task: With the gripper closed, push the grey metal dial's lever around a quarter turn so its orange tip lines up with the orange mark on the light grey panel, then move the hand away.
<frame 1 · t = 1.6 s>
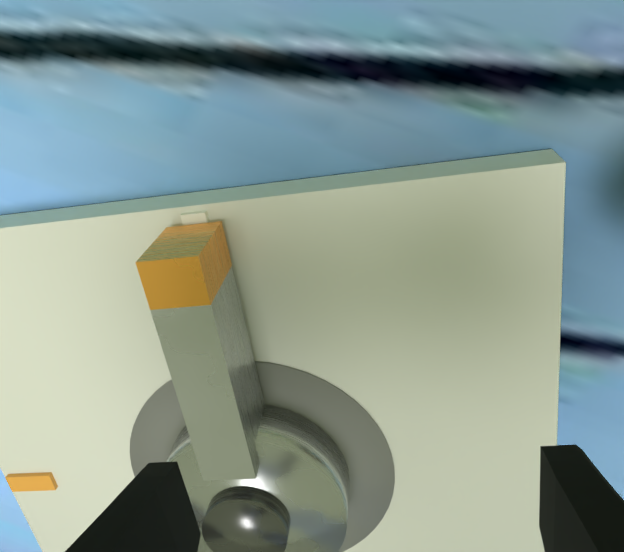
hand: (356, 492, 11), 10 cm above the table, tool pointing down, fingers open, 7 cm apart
panel: (267, 444, 24), on the table
dial: (232, 429, 20), point 3 cm above the table, hinge at 0.0°
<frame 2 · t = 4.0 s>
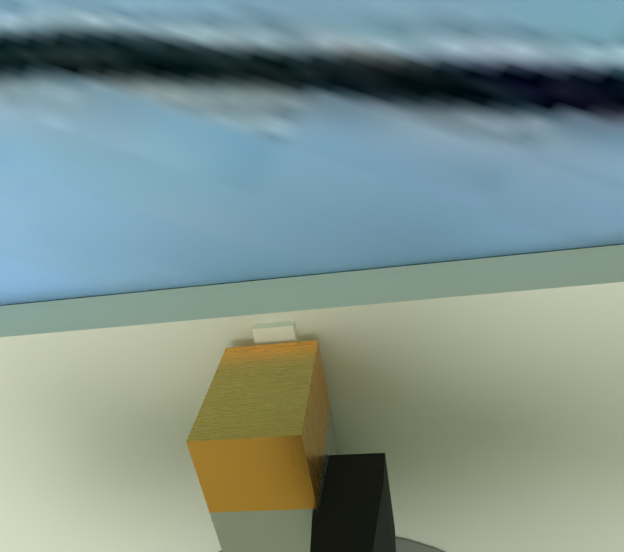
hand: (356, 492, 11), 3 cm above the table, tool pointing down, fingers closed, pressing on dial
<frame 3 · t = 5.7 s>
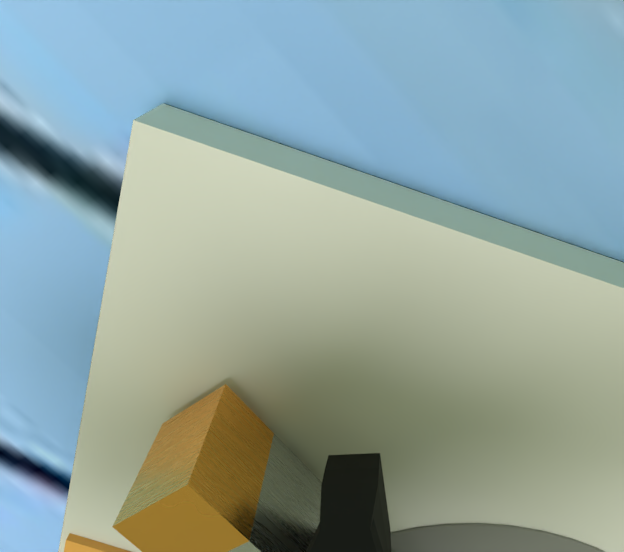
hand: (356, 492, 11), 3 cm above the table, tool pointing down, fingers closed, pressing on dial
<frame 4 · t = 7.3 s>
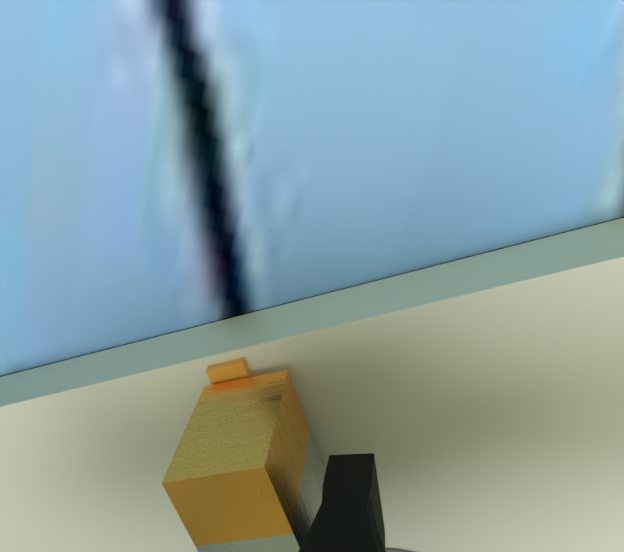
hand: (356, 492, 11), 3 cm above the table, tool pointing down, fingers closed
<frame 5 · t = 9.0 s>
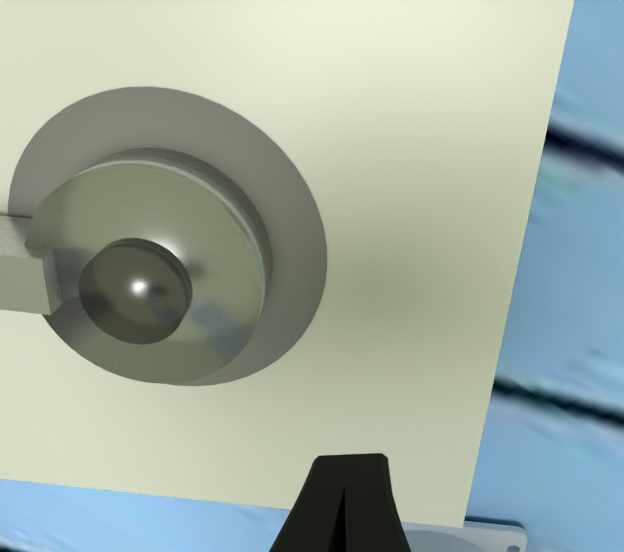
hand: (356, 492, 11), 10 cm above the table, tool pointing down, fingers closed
panel: (180, 235, 20), on the table
dial: (36, 264, 18), point 3 cm above the table, hinge at 88.1°
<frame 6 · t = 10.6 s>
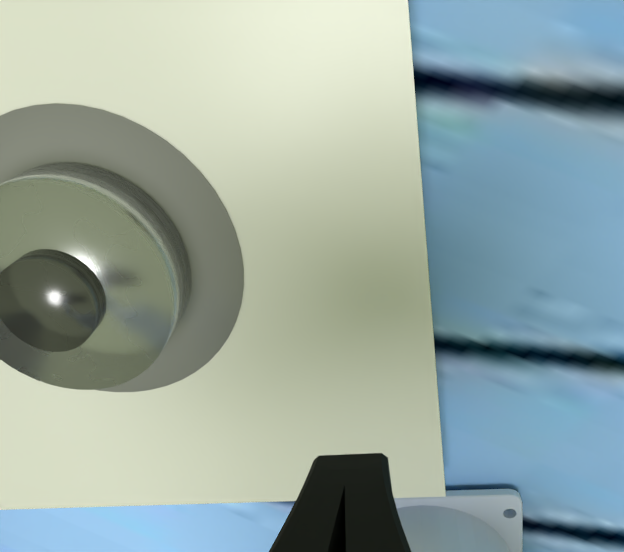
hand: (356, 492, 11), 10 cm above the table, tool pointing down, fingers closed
panel: (109, 246, 21), on the table
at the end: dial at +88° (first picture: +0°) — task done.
